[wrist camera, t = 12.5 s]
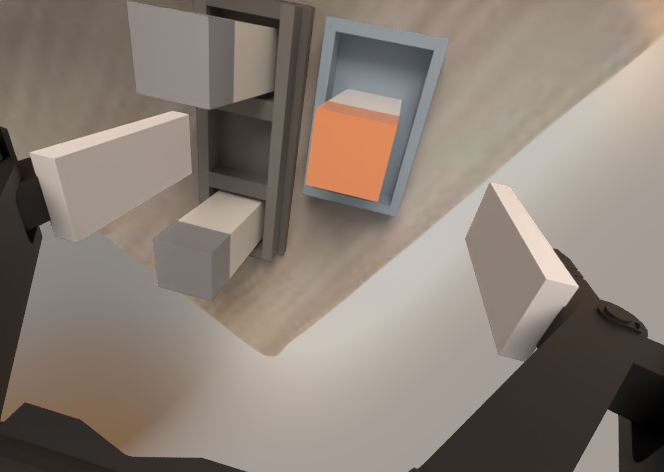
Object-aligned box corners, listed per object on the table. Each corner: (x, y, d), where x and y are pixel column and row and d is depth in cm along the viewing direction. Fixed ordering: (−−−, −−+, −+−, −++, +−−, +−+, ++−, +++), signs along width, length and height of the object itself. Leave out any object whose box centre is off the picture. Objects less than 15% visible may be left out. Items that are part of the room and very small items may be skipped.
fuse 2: (224, 186, 34) (153, 238, 25) (267, 196, 34) (211, 253, 24) (224, 225, 36) (158, 286, 27) (264, 235, 36) (211, 301, 26)
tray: (334, 19, 26) (326, 15, 24) (445, 40, 26) (449, 39, 23) (311, 182, 33) (302, 194, 30) (397, 203, 32) (396, 216, 30)
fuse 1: (226, 18, 27) (126, 0, 17) (280, 29, 26) (208, 16, 17) (225, 79, 29) (136, 93, 20) (275, 90, 29) (209, 109, 19)
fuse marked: (347, 88, 28) (316, 107, 18) (401, 100, 27) (397, 125, 18) (338, 142, 30) (305, 184, 21) (387, 154, 30) (377, 201, 20)
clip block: (205, -14, 27) (184, -20, 24) (314, 7, 26) (304, 2, 24) (209, 230, 38) (195, 243, 36) (285, 250, 37) (276, 265, 35)
